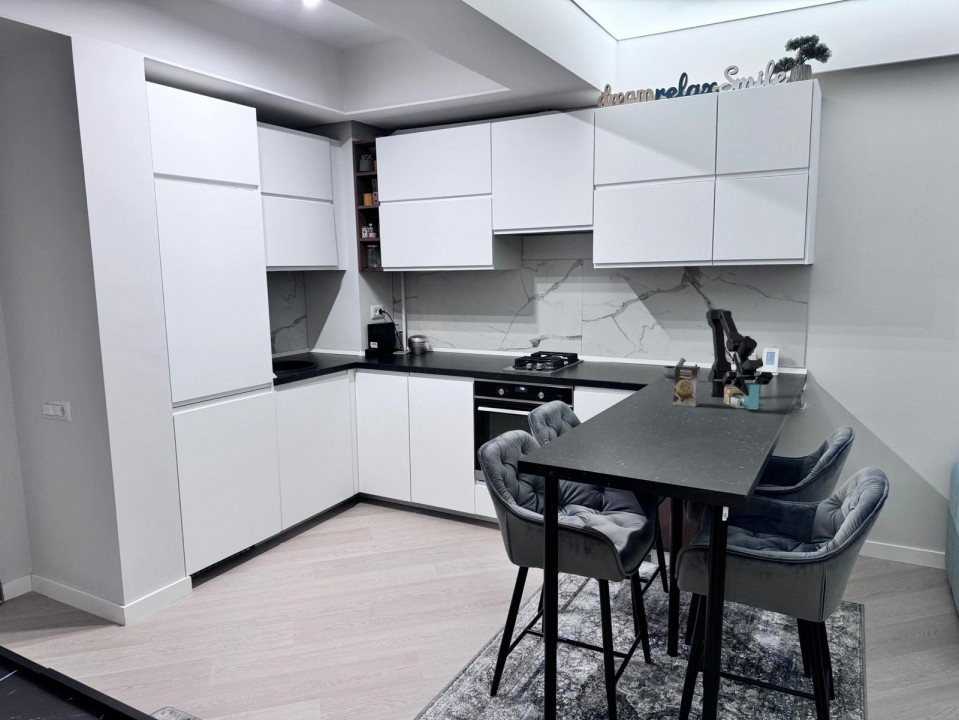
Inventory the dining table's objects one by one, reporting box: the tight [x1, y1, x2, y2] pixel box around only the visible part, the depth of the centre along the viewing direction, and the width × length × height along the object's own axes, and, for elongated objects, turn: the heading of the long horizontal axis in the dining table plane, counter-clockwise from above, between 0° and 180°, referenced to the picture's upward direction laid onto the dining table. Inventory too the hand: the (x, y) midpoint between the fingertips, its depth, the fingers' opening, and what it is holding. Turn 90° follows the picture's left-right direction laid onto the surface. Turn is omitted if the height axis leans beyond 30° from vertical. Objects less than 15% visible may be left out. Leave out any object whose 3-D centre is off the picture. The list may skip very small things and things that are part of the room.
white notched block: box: [730, 397, 745, 409], centre depth 273 cm, size 6×6×3 cm
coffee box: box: [672, 364, 701, 407], centre depth 275 cm, size 9×6×16 cm
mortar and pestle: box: [662, 357, 687, 383], centre depth 334 cm, size 11×9×12 cm
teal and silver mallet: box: [735, 382, 761, 410], centre depth 269 cm, size 14×4×10 cm, turn 3°
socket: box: [723, 386, 745, 406], centre depth 279 cm, size 5×7×7 cm
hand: (753, 395), depth 262 cm, fingers closed on teal and silver mallet, 4 cm apart
